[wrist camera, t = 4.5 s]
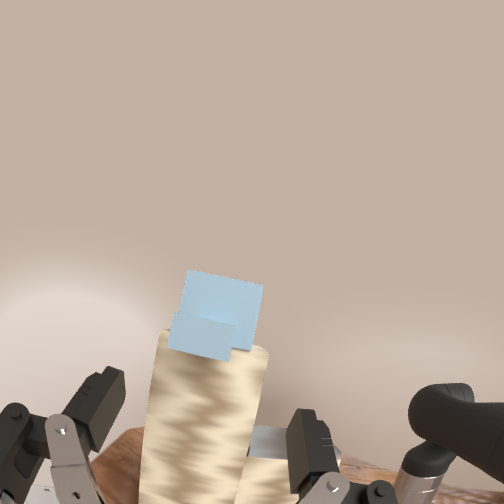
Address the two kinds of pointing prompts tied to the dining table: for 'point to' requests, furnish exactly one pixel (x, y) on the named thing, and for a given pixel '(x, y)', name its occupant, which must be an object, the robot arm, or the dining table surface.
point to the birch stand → (211, 432)
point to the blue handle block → (215, 316)
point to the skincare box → (41, 495)
